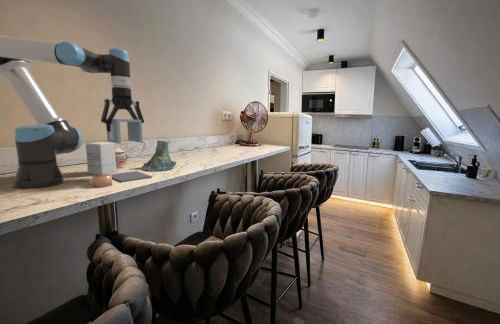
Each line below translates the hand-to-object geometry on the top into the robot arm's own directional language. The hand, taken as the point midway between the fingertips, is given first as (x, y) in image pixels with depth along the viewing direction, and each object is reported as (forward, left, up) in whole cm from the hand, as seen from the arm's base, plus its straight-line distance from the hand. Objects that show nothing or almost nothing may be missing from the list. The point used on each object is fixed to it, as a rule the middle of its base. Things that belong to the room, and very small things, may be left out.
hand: (124, 138), depth 110 cm
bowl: (+6, -12, -18) cm, 22 cm away
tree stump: (-14, +24, -18) cm, 33 cm away
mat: (-2, +2, -18) cm, 18 cm away
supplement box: (-19, -4, -18) cm, 27 cm away
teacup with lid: (-30, +8, -18) cm, 36 cm away
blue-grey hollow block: (0, 0, -1) cm, 1 cm away
